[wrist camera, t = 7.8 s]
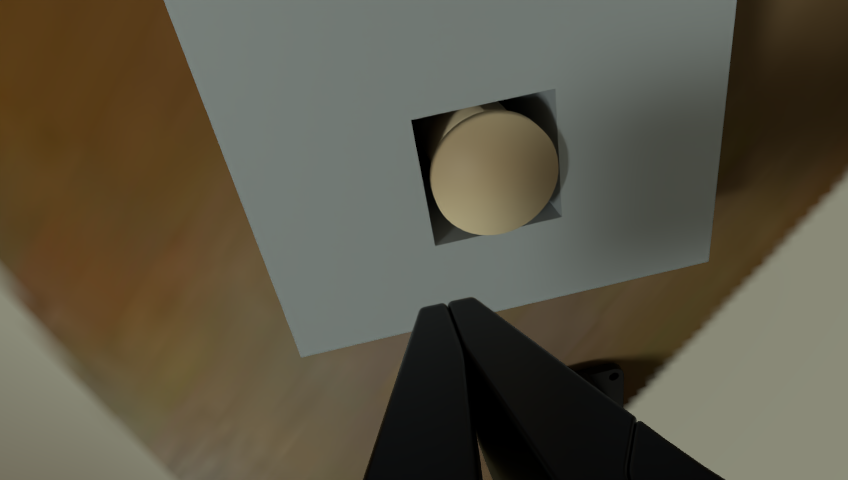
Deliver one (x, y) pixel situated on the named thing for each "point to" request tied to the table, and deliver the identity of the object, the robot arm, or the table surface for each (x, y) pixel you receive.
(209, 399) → the table surface
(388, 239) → the board
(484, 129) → the peg
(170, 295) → the table surface
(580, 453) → the robot arm
